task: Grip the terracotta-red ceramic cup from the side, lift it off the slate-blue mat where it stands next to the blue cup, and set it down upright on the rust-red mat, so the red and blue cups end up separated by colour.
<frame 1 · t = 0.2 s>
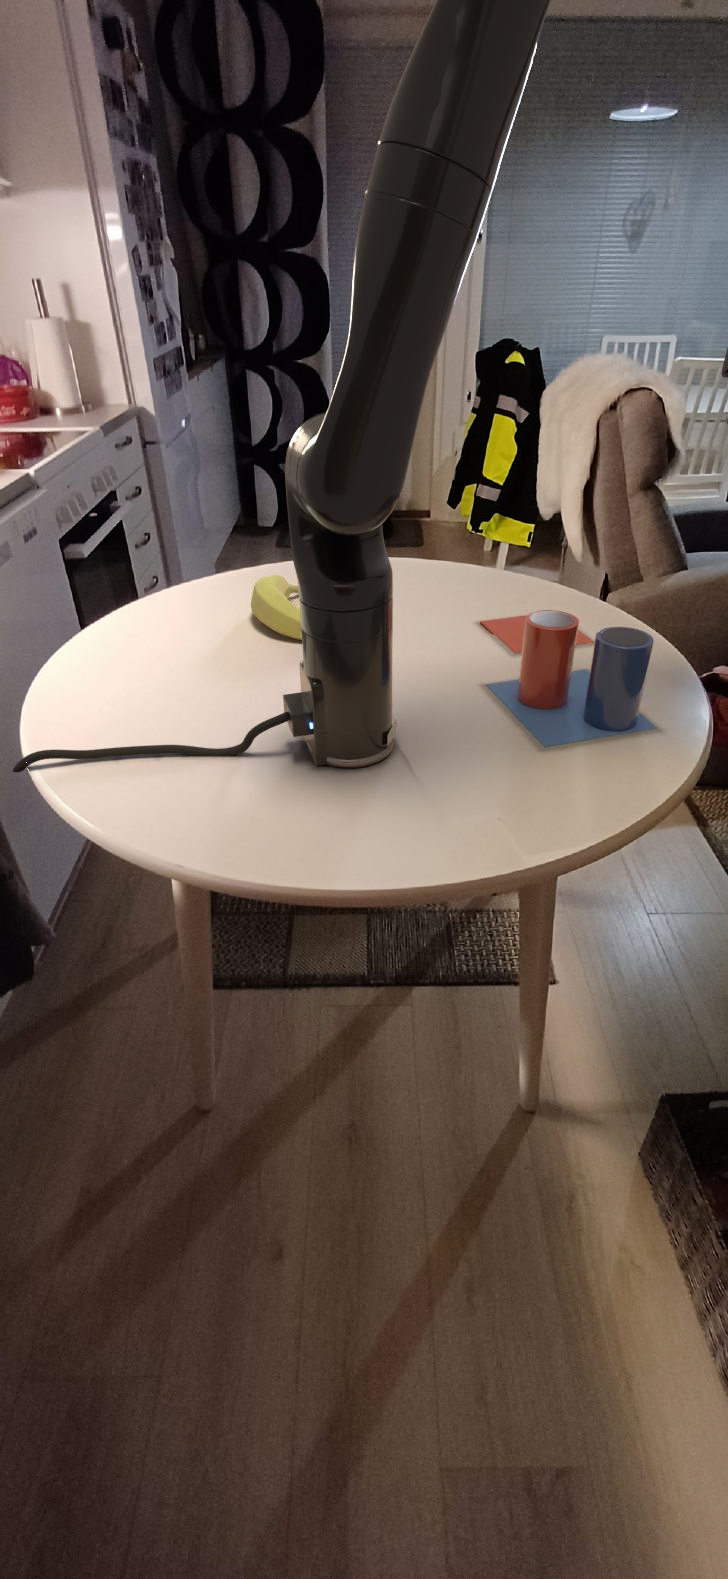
red mat: (535, 633, 111), on the table
blue mat: (566, 707, 92), on the table
blue cup: (609, 718, 89), resting on blue mat
banana: (295, 617, 118), on the table
red cup: (542, 698, 94), resting on blue mat
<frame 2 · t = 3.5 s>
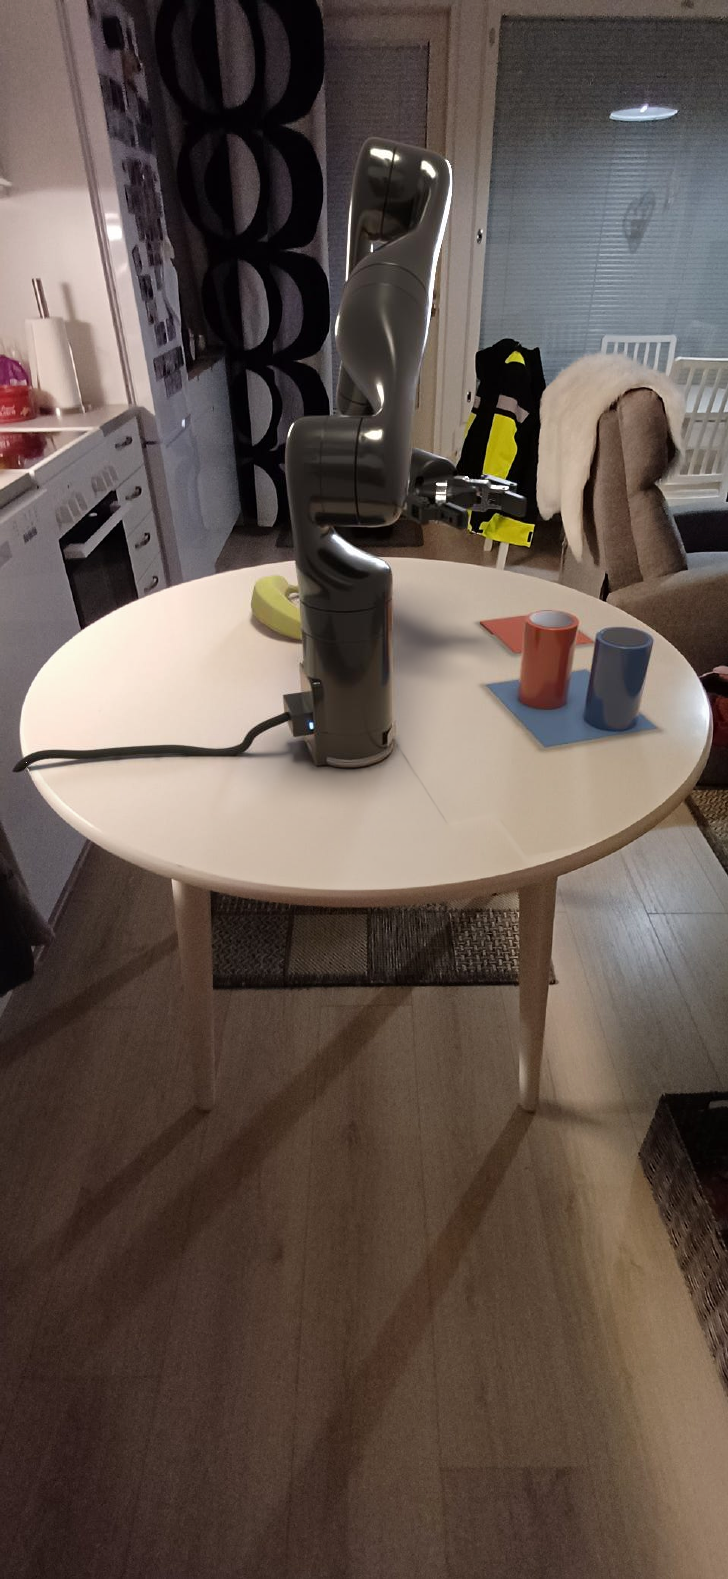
hand: (495, 514, 90), 20 cm above the table, tool horizontal, fingers open, 8 cm apart
nothing on the table moved.
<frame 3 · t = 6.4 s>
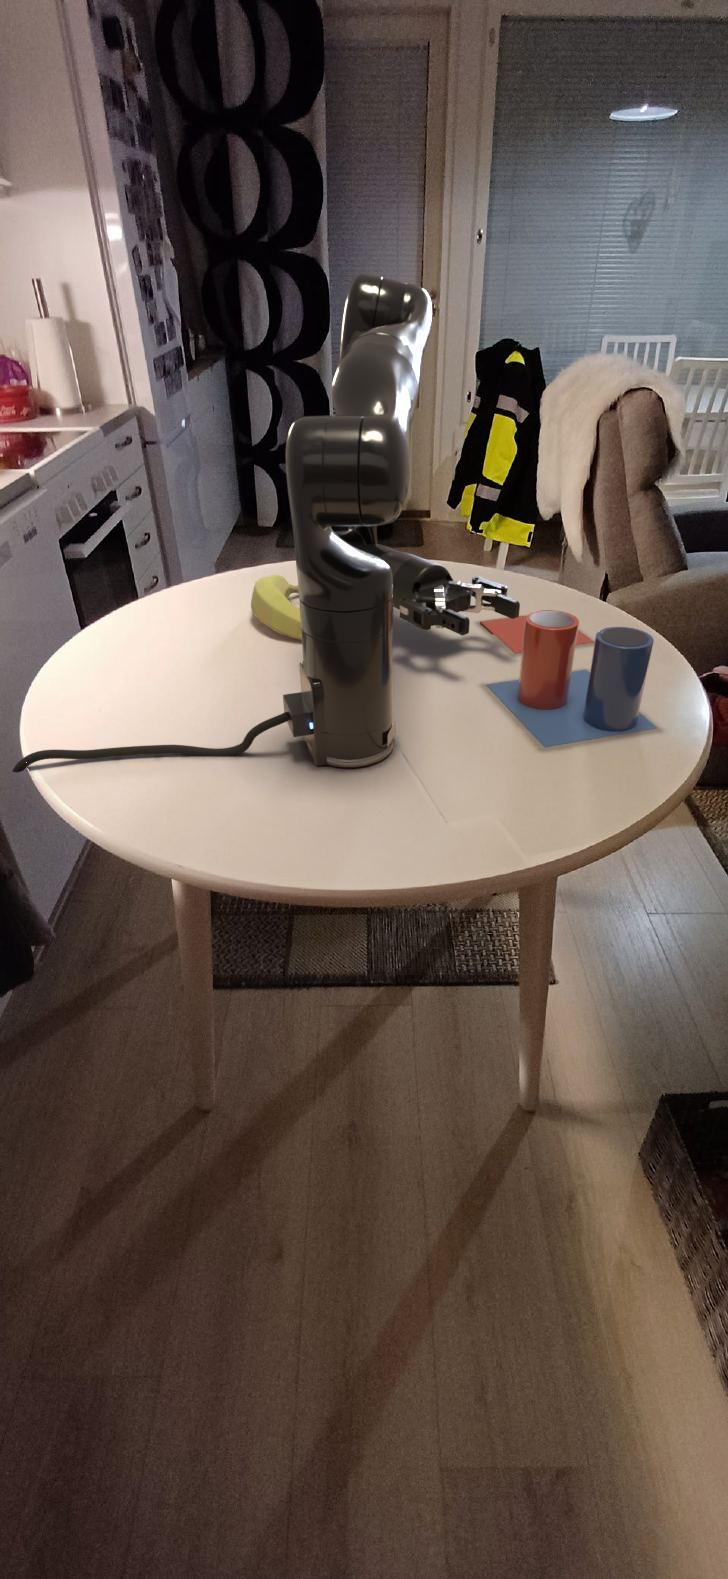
hand: (493, 619, 96), 7 cm above the table, tool horizontal, fingers open, 8 cm apart
nothing on the table moved.
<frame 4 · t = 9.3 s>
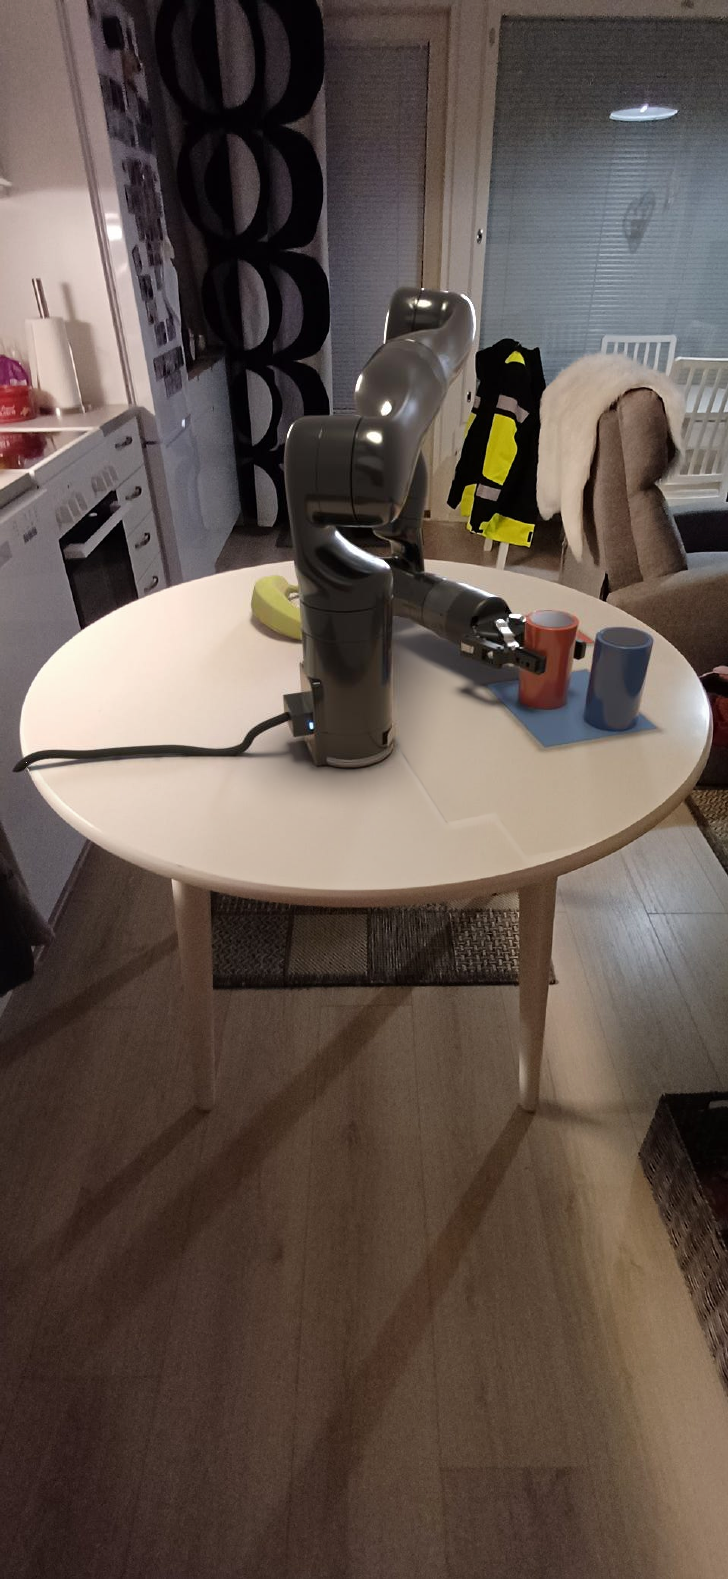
hand: (563, 658, 89), 6 cm above the table, tool horizontal, fingers closed on red cup, 6 cm apart
red cup: (542, 698, 94), resting on blue mat, touching gripper
everything else where it was.
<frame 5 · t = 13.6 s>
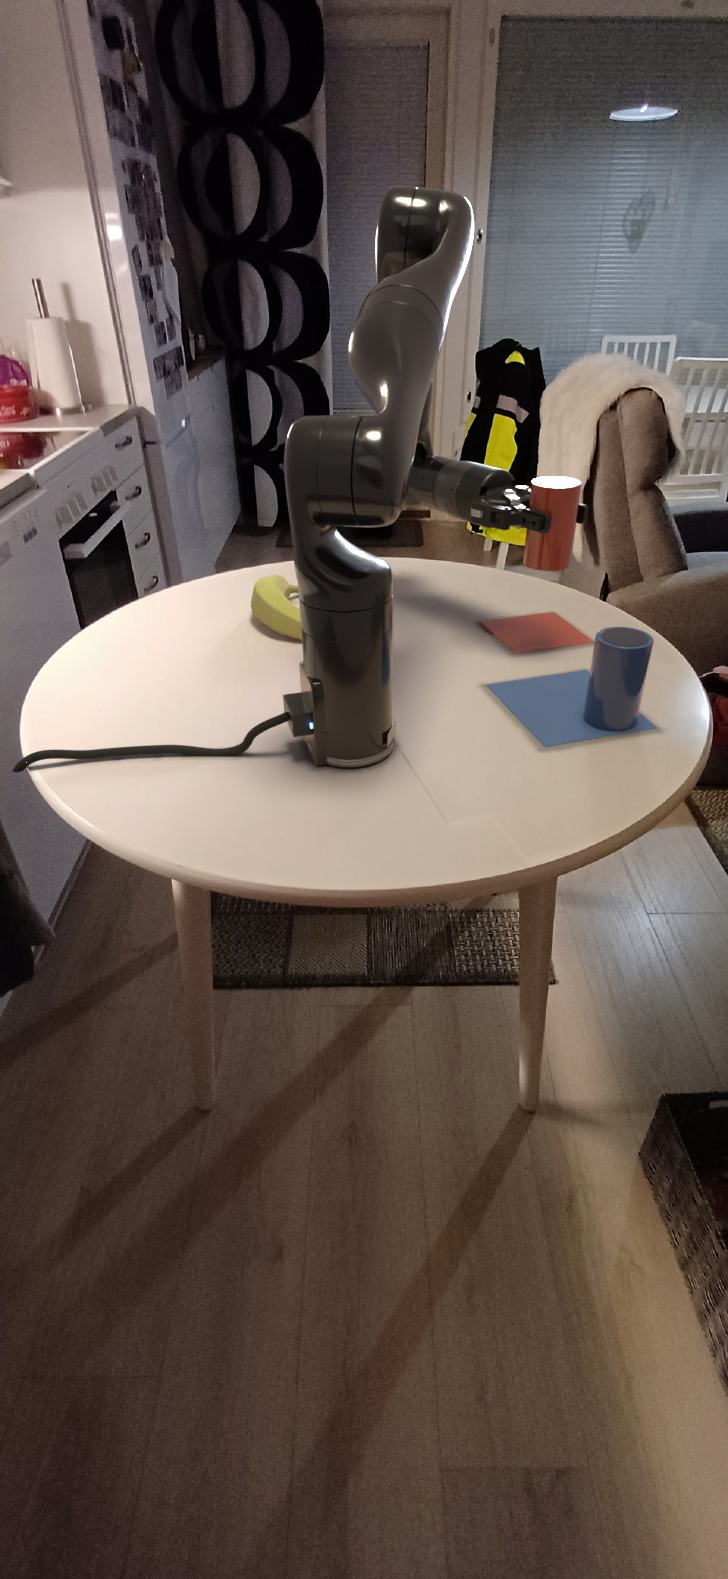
hand: (567, 519, 95), 18 cm above the table, tool horizontal, fingers closed on red cup, 6 cm apart
red cup: (546, 563, 100), point 12 cm above the table, touching gripper
everything else where it was.
when the fingers open (6 cm above the table, at t = 18.0 s): red cup stays where it is, resting on red mat.
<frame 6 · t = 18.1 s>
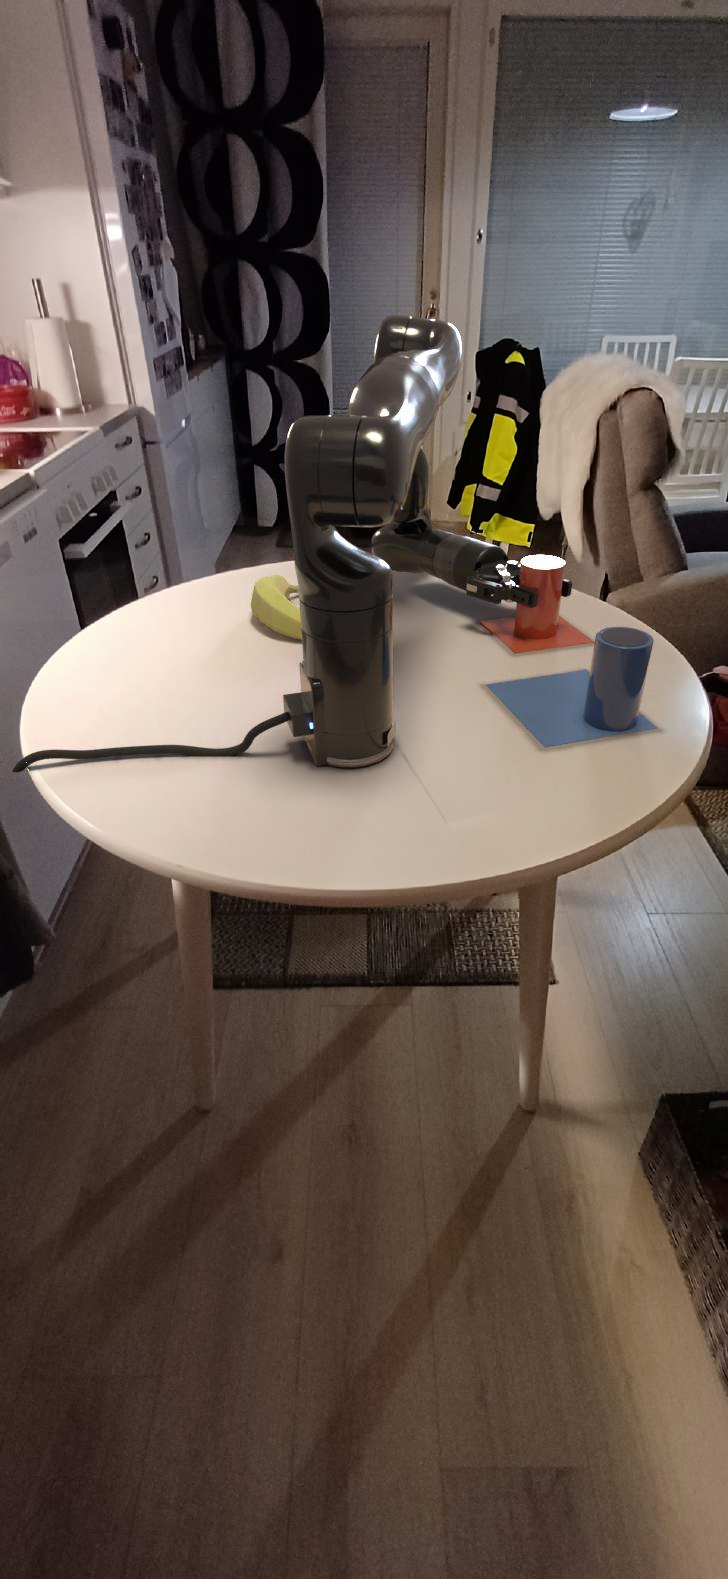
hand: (552, 595, 106), 6 cm above the table, tool horizontal, fingers open, 6 cm apart
red cup: (535, 631, 111), resting on red mat
everything else where it was.
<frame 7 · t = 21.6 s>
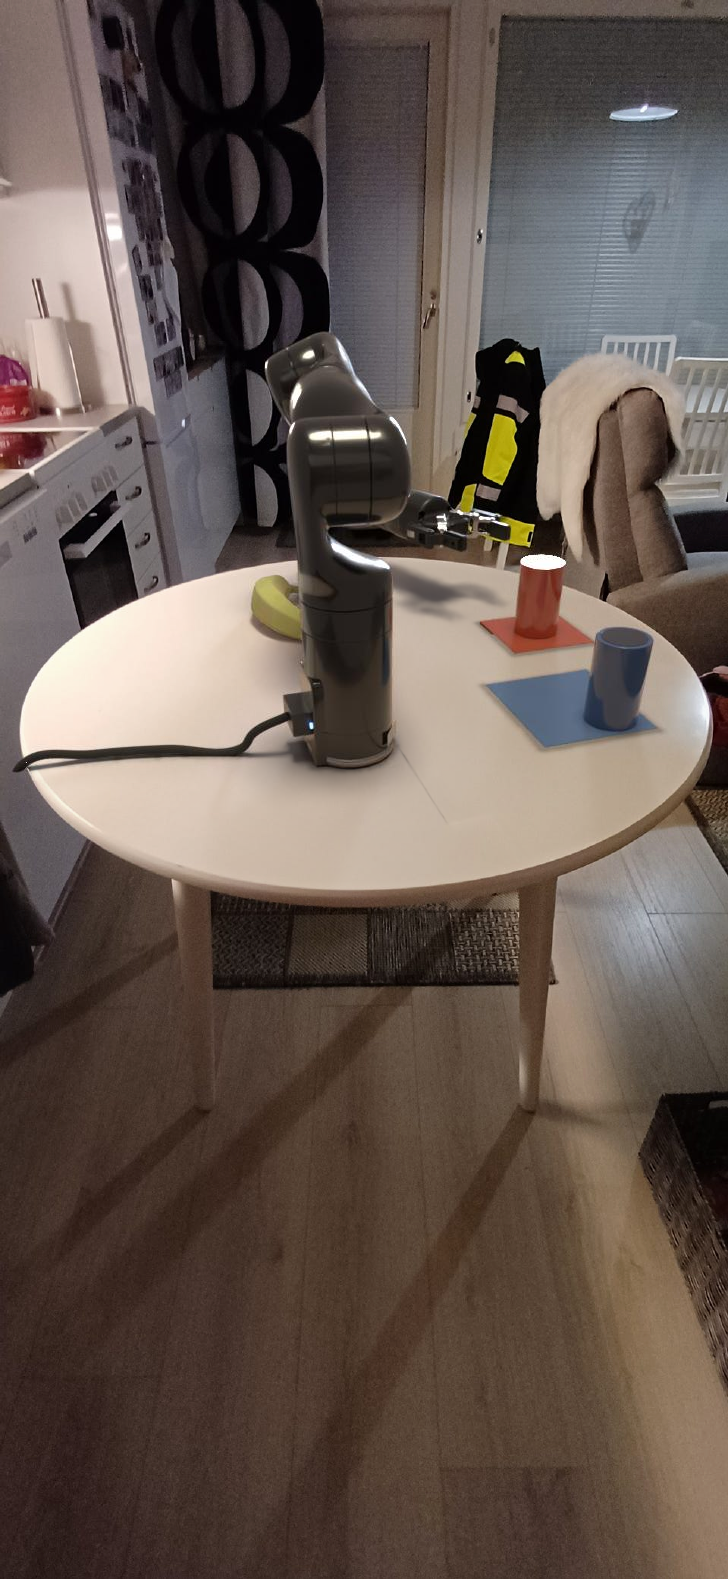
hand: (487, 539, 111), 11 cm above the table, tool horizontal, fingers open, 8 cm apart
nothing on the table moved.
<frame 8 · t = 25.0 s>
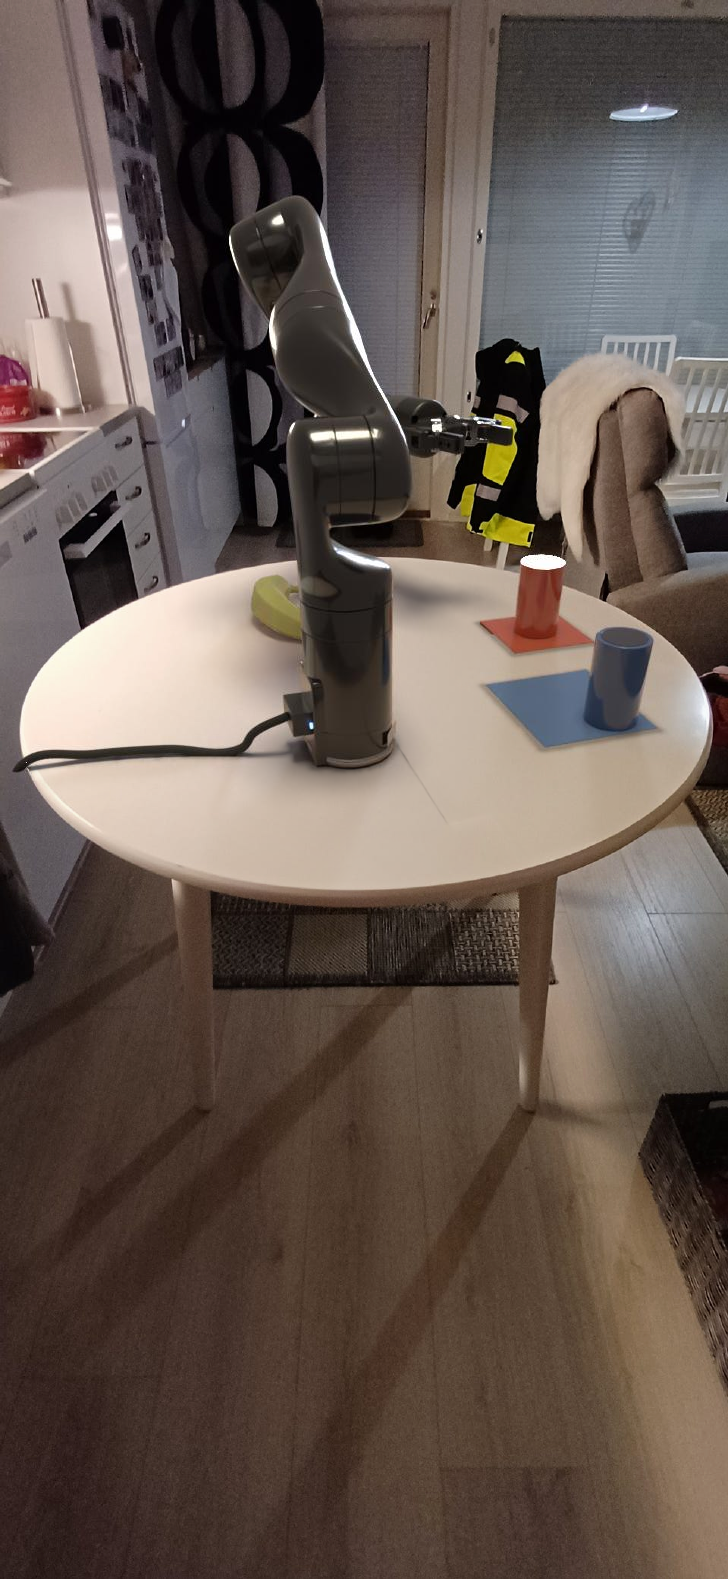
hand: (487, 441, 100), 25 cm above the table, tool horizontal, fingers open, 8 cm apart
nothing on the table moved.
at the end: red cup inside the target area on the red mat (0.1 cm from its centre), point 0.3 cm above the red mat's base; red cup tilted 0°; blue cup moved 0.0 cm from its start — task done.
